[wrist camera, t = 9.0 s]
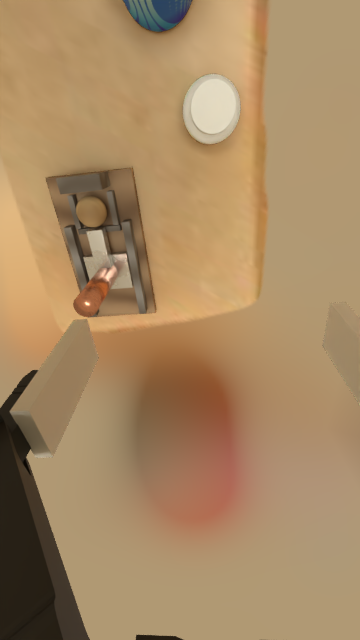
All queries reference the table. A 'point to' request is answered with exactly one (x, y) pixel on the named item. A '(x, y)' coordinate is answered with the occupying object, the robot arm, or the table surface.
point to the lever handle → (102, 273)
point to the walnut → (91, 211)
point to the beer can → (158, 13)
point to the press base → (120, 230)
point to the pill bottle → (211, 109)
